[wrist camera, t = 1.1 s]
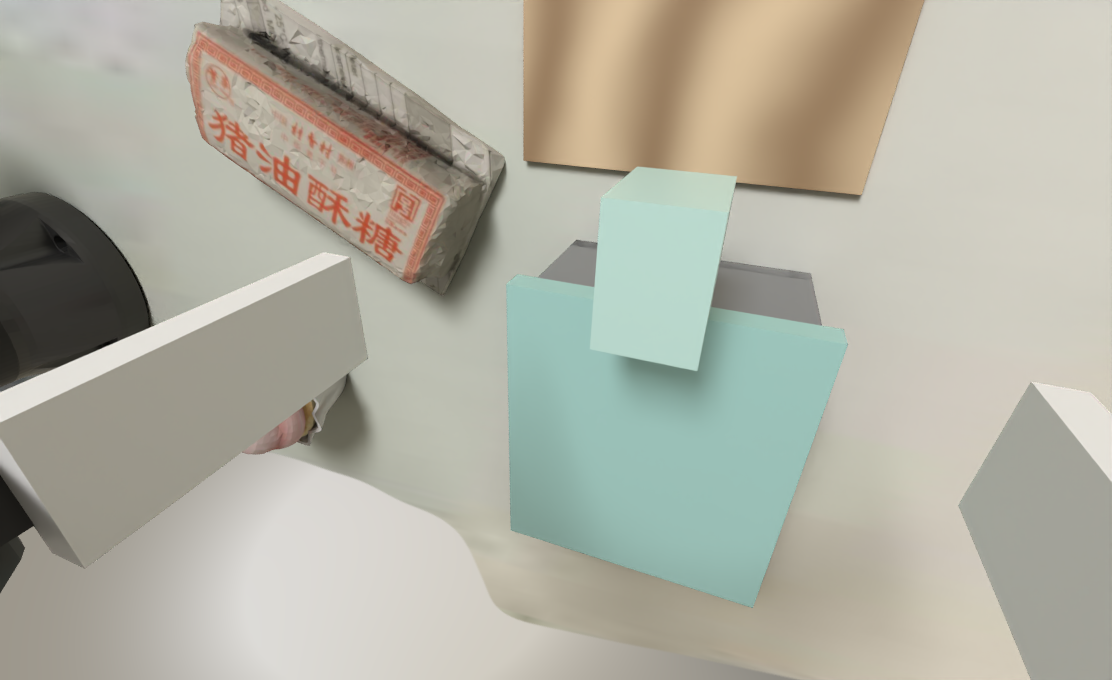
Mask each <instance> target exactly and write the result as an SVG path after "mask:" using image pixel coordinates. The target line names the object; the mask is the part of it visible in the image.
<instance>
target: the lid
mask: <svg viewBox="0 0 1112 680" xmlns="http://www.w3.org/2000/svg"><path fill="white" fill-rule="evenodd" d="M736 179H737V176H729V175H718V174H708V173H698V172H688V171H678V170H668V169H658V168H647V167H636V168H635V169H634V170H632V171H631V172H630V173H629V174H628V175H627V176H625V177H624V178H623V179H622V180H621V181H620V182H618V183H617V184H616V185H615V186H614V187H613V188H611V189H610V190H609V191H608V192H607V193H606V194H604V195H603V196H602V197H601V205H600V218H599V232H598V245H597V259H596V272H595V286H594V287H590V286H584V285H578V284H572V283H566V282H561V281H555V280H549V279H543V278H537V277H531V276H525V275H519V274H518V275H516V276H515V277H514V278H513V279H512V280H511V281H510V282H508V283H507V284H506V289H507V345H508V402H509V459H510V516H511V530H512V531H515V532H518V533H521V534H524V535H527V536H530V537H533V538H537V539H540V540H543V541H546V542H549V543H552V544H555V545H558V546H561V547H565V548H568V549H571V550H574V551H577V552H580V553H583V554H586V555H589V556H593V557H596V558H599V559H602V560H605V561H608V562H611V563H614V564H617V565H621V566H624V567H627V568H630V569H633V570H636V571H639V572H642V573H645V574H649V575H652V576H655V577H658V578H661V579H664V580H667V581H670V582H673V583H677V584H680V585H683V586H686V587H689V588H692V589H695V590H698V591H702V592H705V593H708V594H711V595H714V596H717V597H720V598H723V599H726V600H730V601H733V602H736V603H739V604H742V605H745V606H748V607H751V608H753V606H754V603H755V600H756V598H757V595H758V592H759V589H760V586H761V584H762V581H763V578H764V575H765V573H766V570H767V567H768V564H769V562H770V559H771V556H772V553H773V550H774V548H775V545H776V542H777V539H778V537H779V534H780V531H781V528H782V526H783V523H784V520H785V517H786V514H787V512H788V509H789V506H790V503H791V501H792V498H793V495H794V492H795V490H796V487H797V484H798V481H799V478H800V476H801V473H802V470H803V467H804V465H805V462H806V459H807V456H808V454H809V451H810V448H811V445H812V442H813V440H814V437H815V434H816V431H817V429H818V426H819V423H820V420H821V418H822V415H823V412H824V409H825V406H826V404H827V401H828V398H829V395H830V393H831V390H832V387H833V384H834V382H835V379H836V376H837V373H838V370H839V368H840V365H841V362H842V359H843V357H844V354H845V351H846V348H847V345H848V343H847V340H846V336H845V333H844V329H839V328H833V327H827V326H821V325H815V324H809V323H803V322H797V321H791V320H785V319H779V318H773V317H768V316H762V315H756V314H750V313H744V312H738V311H732V310H726V309H720V308H714V307H711V304H712V299H713V294H714V289H715V284H716V279H717V274H718V269H719V264H720V259H721V254H722V249H723V244H724V239H725V234H726V229H727V224H728V219H729V214H730V209H731V204H732V199H733V194H734V189H735V184H736Z"/></svg>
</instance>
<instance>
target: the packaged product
mask: <svg viewBox="0 0 1112 680" xmlns="http://www.w3.org/2000/svg"><path fill="white" fill-rule="evenodd" d="M194 26H195V29H194V32H193V35H192V43H191V45H190V47H189V48H188V52H187V56H186V60H185V66H186V75H187V79H188V81H189V82H190V85H191V93H192V97H193V102H194V105H195V108H196V110H195V113H196V116H195V118H196V121H197V124H198V127H199V130H200V133H201V135H202V138H203V139H204V140H205V141H206V142H207V143H208V144H209V145H211V146H213V147H214V148H215V149H217V150H218V151H219V152H221V153H222V154H223V155H225V156H226V157H227V158H229V159H230V160H232V161H233V162H234V163H236V164H237V165H239V166H240V167H242V168H243V169H245V170H246V171H248V172H249V173H250V174H252V175H253V176H254V177H256V178H257V179H258V180H260V181H261V182H263V183H264V184H266V185H267V186H269V187H270V188H272V189H273V190H275V191H276V192H278V193H279V194H281V195H282V196H284V197H285V198H286V199H288V200H289V201H291V202H292V203H294V204H295V205H297V206H298V207H299V208H301V209H302V210H304V211H305V212H307V213H308V214H309V215H311V216H312V217H314V218H315V219H316V220H318V221H319V222H321V223H322V224H324V225H325V226H327V227H328V228H330V229H331V230H332V231H334V232H335V233H337V234H338V235H340V236H341V237H343V238H344V239H346V240H347V241H348V242H349V243H351V244H352V245H354V246H355V247H357V248H358V249H359V250H361V251H362V252H364V253H365V254H367V255H368V256H370V257H371V258H373V259H374V260H375V261H376V262H378V263H379V264H380V265H382V266H383V267H385V268H387V269H388V270H389V271H391V272H392V273H393V274H395V275H396V276H398V277H399V278H400V279H401V280H403V281H405V282H407V283H410V284H412V283H415V282H418V281H421V282H422V283H424V284H425V285H426V286H428V287H429V288H431V289H432V290H434V291H435V292H437V293H438V294H440V295H441V296H442V295H444V294H445V292H446V290H447V288H448V286H449V284H450V282H451V280H452V278H453V276H454V274H455V272H456V270H457V268H458V266H459V264H460V262H461V260H462V258H463V256H464V254H465V252H466V249H467V247H468V245H469V242H470V240H471V238H472V235H473V233H474V230H475V228H476V225H477V223H478V220H479V218H480V216H481V214H482V212H483V210H484V208H485V206H486V204H487V201H488V199H489V197H490V195H491V193H492V190H493V188H494V186H495V184H496V182H497V179H498V177H499V175H500V173H501V171H502V168H503V166H504V163H505V158H504V156H503V155H502V154H500V153H499V152H497V151H496V150H494V149H493V148H491V147H490V146H488V145H487V144H485V143H484V142H483V141H481V140H480V139H478V138H477V137H475V136H474V135H472V134H471V133H469V132H468V131H466V130H464V129H463V128H461V127H460V126H458V125H457V124H456V123H454V122H453V121H452V120H450V119H449V118H448V117H447V116H445V115H444V114H443V113H441V112H440V111H439V110H437V109H436V108H435V107H433V106H432V105H431V104H429V103H428V102H427V101H425V100H424V99H423V98H421V97H420V96H419V95H417V94H416V93H415V92H413V91H412V90H410V89H408V88H407V87H406V86H404V85H403V84H401V83H400V82H399V81H397V80H396V79H394V78H393V77H391V76H390V75H389V74H387V73H386V72H384V71H383V70H382V69H380V68H379V67H377V66H376V65H375V64H373V63H372V62H370V61H369V60H368V59H366V58H365V57H364V56H362V55H361V54H359V53H358V52H356V51H355V50H353V49H352V48H350V47H349V46H348V45H346V44H345V43H343V42H342V41H340V40H339V39H337V38H336V37H334V36H333V35H331V34H330V33H328V32H327V31H326V30H324V29H323V28H321V27H320V26H318V25H317V24H315V23H313V22H312V21H310V20H309V19H307V18H306V17H304V16H303V15H301V14H299V13H298V12H296V11H295V10H293V9H292V8H290V7H289V6H287V5H285V4H284V3H282V2H281V1H279V0H221V17H220V25H215V24H210V23H206V22H201V23H198V24H195V25H194Z"/></svg>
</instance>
